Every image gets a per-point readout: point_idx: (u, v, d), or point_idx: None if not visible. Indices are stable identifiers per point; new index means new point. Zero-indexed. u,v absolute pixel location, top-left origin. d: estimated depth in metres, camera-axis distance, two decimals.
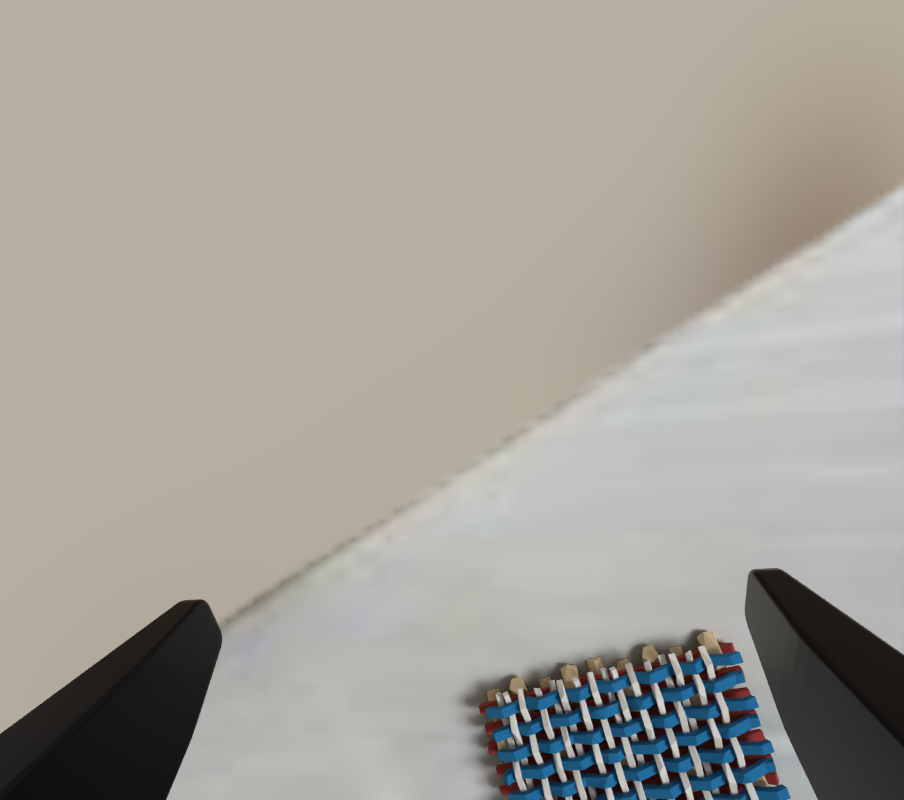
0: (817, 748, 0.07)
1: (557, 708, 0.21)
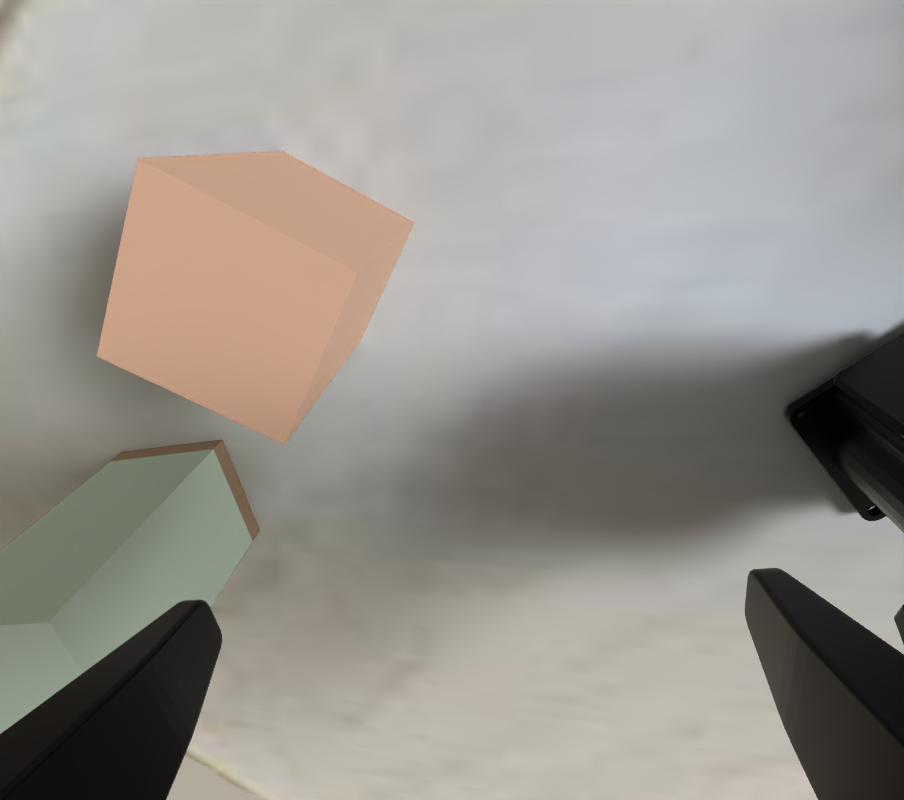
0: (817, 748, 0.07)
1: None
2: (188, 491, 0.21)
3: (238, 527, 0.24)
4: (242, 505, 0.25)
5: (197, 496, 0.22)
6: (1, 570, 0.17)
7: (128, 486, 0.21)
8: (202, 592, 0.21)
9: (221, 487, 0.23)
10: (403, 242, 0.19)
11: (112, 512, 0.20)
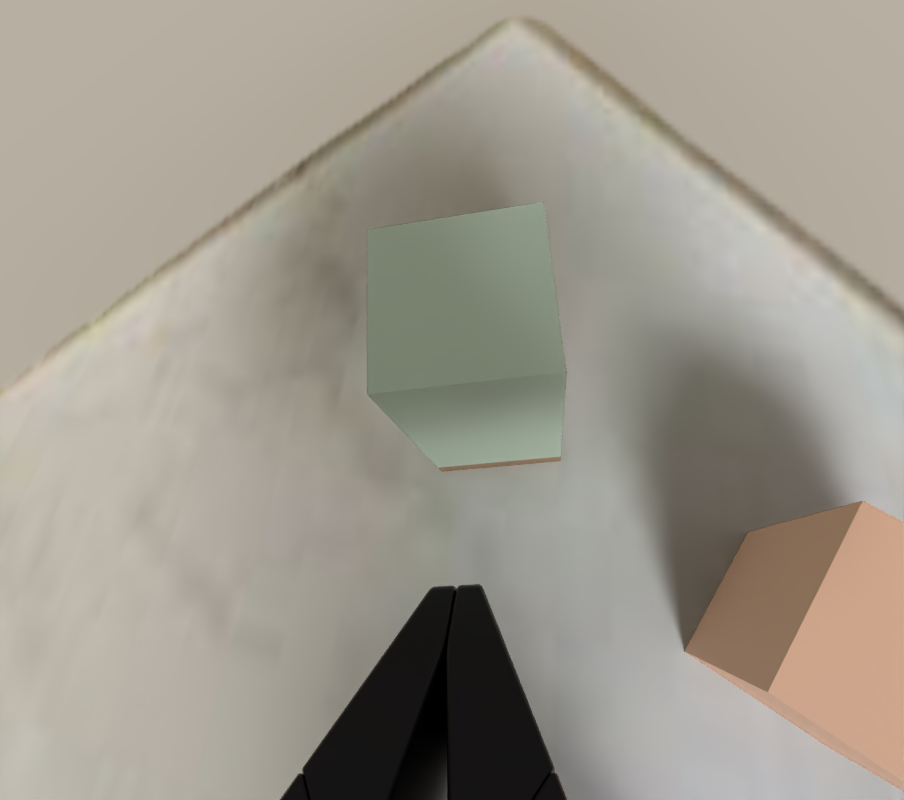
0: None
1: None
2: (547, 443, 0.19)
3: (465, 462, 0.22)
4: (481, 465, 0.22)
5: (534, 446, 0.20)
6: None
7: None
8: (439, 442, 0.18)
9: (519, 457, 0.21)
10: (817, 739, 0.17)
11: None
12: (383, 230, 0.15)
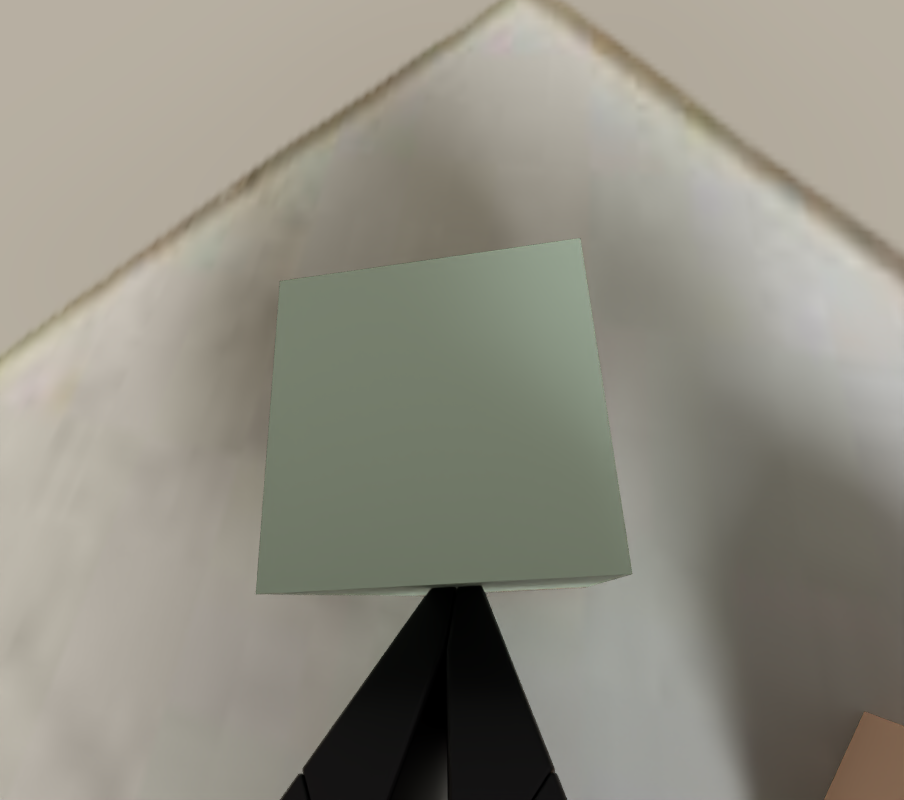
0: None
1: None
2: (572, 586, 0.13)
3: None
4: None
5: (552, 587, 0.13)
6: None
7: None
8: (408, 593, 0.12)
9: (528, 589, 0.15)
10: None
11: None
12: (308, 281, 0.09)
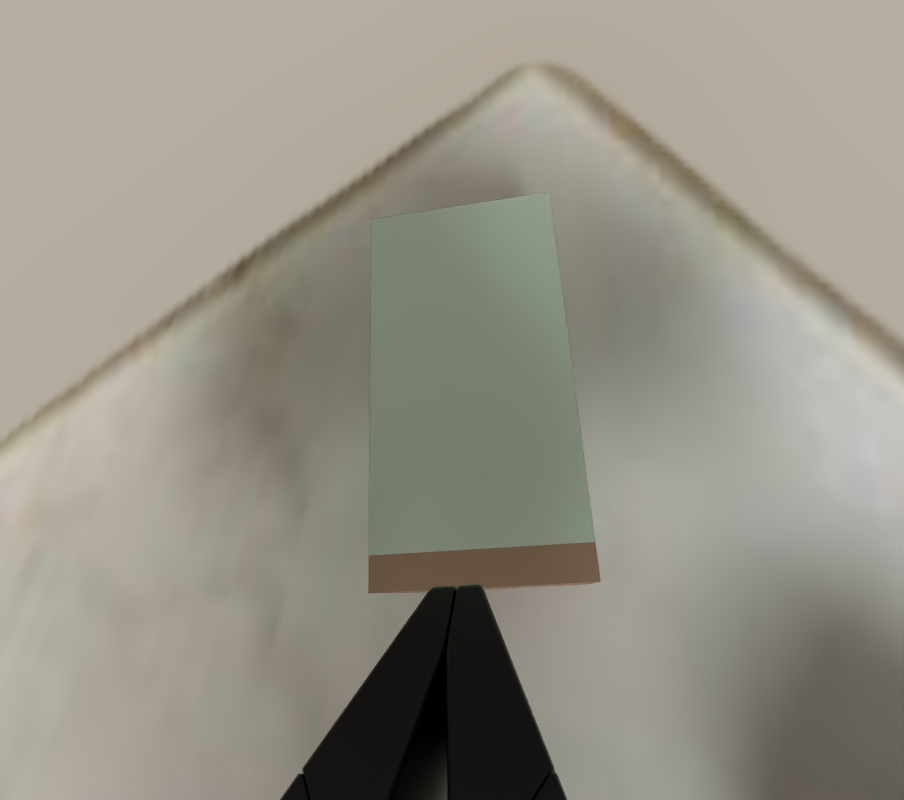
0: None
1: None
2: (559, 436, 0.12)
3: (421, 528, 0.12)
4: (446, 566, 0.12)
5: (539, 452, 0.12)
6: None
7: None
8: (402, 387, 0.13)
9: (516, 523, 0.12)
10: None
11: None
12: None
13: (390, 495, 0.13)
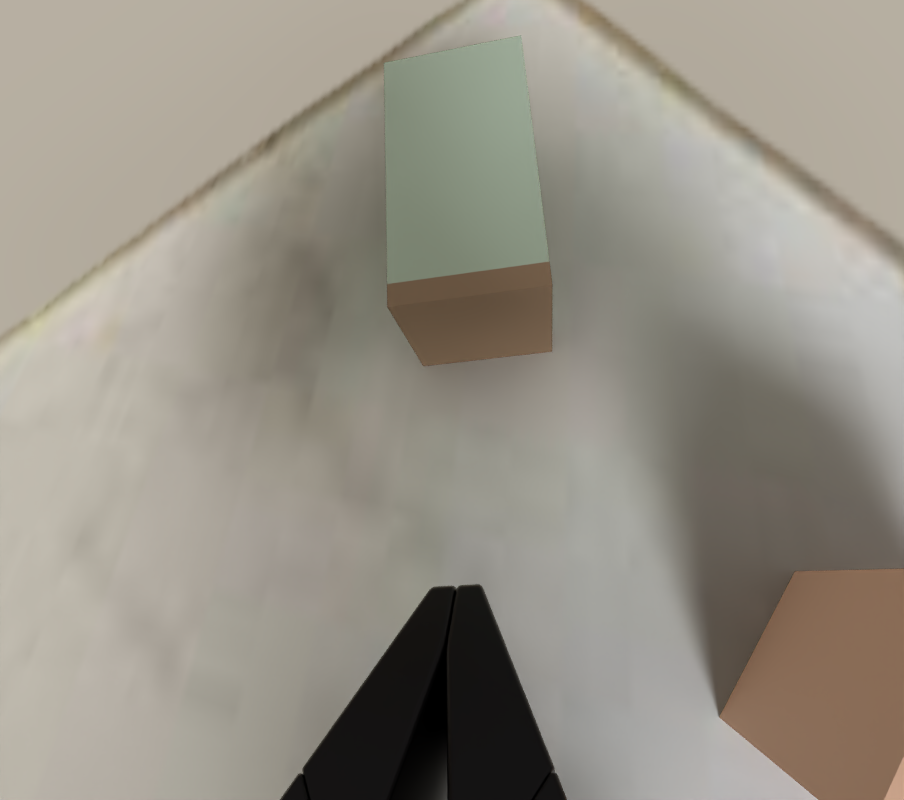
0: None
1: None
2: (525, 198, 0.17)
3: (425, 263, 0.17)
4: (443, 285, 0.16)
5: (510, 209, 0.17)
6: None
7: None
8: (409, 175, 0.18)
9: (493, 254, 0.16)
10: None
11: None
12: None
13: (402, 245, 0.17)
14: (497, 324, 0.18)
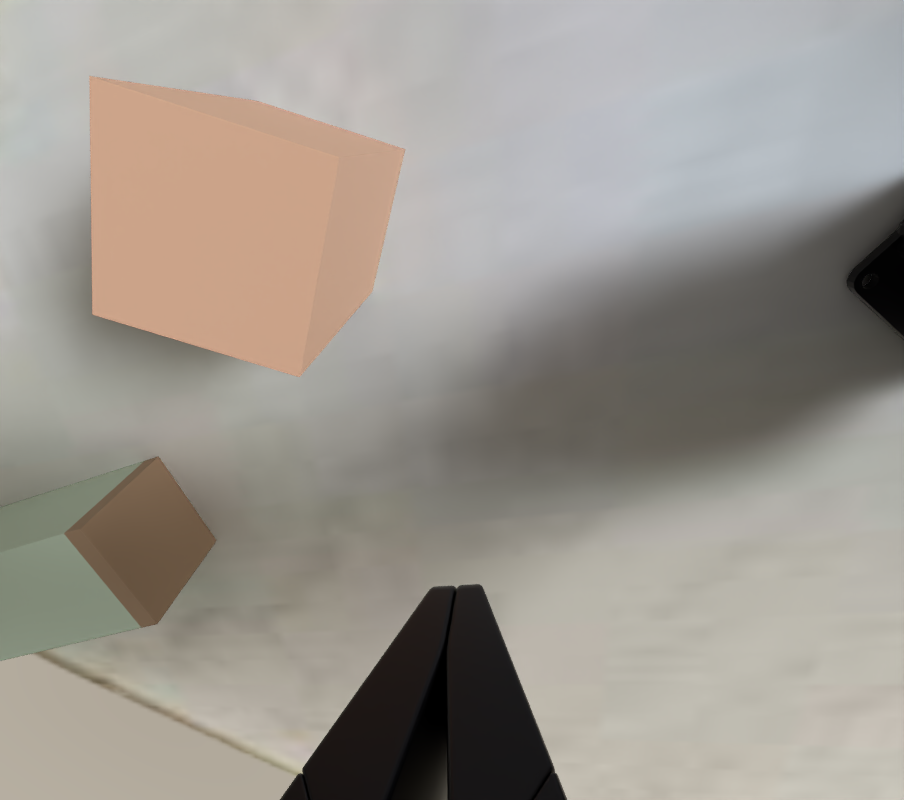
0: None
1: None
2: (24, 557, 0.21)
3: (113, 608, 0.21)
4: (122, 594, 0.21)
5: (38, 565, 0.21)
6: (10, 512, 0.25)
7: (62, 508, 0.23)
8: (52, 632, 0.22)
9: (80, 568, 0.21)
10: (396, 170, 0.18)
11: (21, 526, 0.22)
12: None
13: (108, 625, 0.22)
14: (143, 528, 0.22)
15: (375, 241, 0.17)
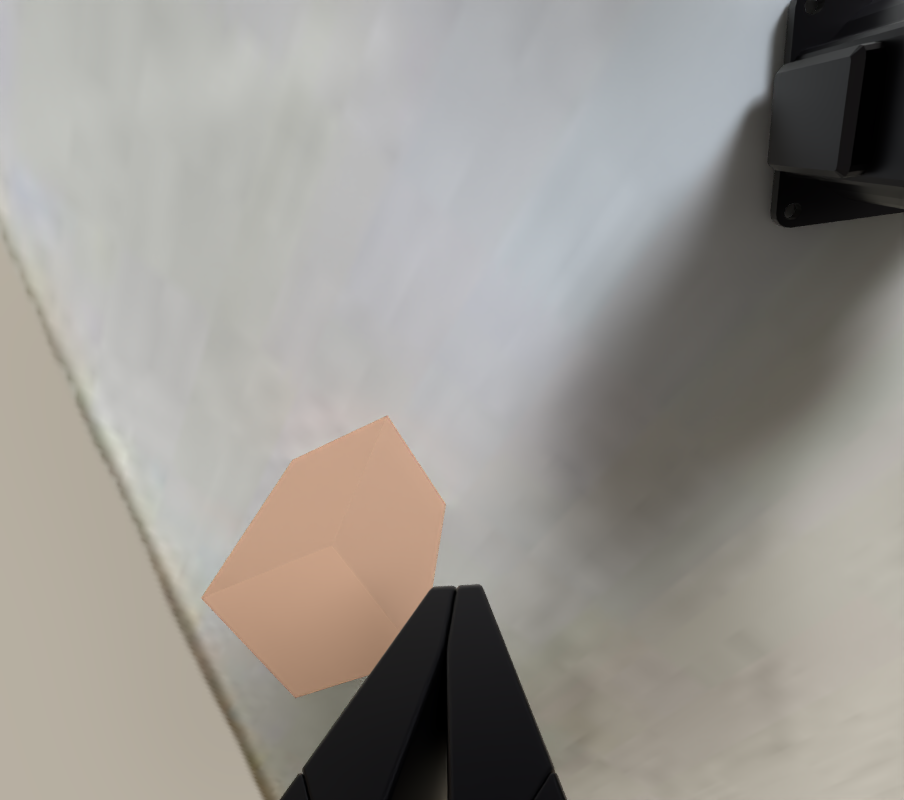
0: None
1: None
2: None
3: None
4: None
5: None
6: None
7: None
8: None
9: None
10: (392, 435, 0.22)
11: None
12: None
13: None
14: None
15: (415, 490, 0.22)
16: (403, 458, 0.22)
